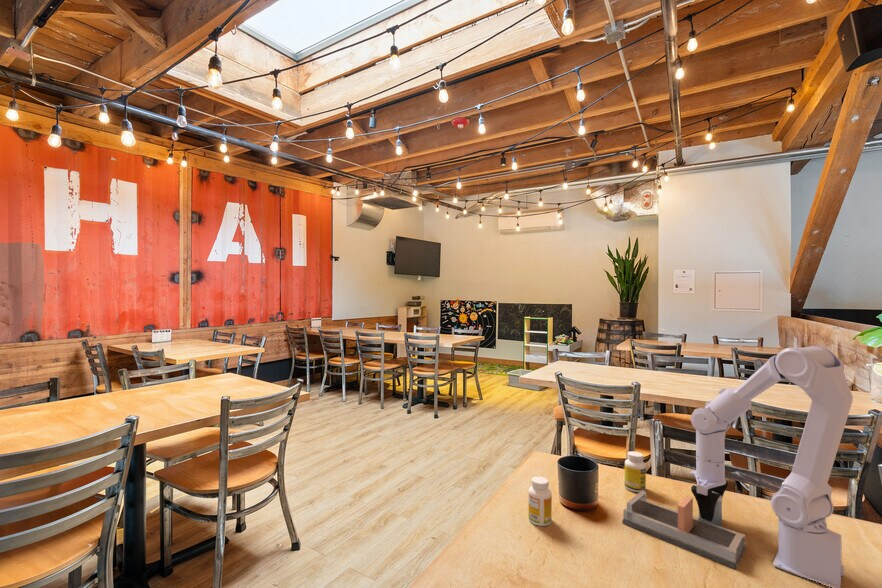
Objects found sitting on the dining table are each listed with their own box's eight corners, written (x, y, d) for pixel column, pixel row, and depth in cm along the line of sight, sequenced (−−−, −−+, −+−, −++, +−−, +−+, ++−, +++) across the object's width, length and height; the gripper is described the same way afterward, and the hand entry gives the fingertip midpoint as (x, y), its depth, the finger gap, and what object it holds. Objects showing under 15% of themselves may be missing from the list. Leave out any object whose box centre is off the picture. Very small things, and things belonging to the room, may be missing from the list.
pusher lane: (745, 548, 86) (745, 524, 86) (735, 569, 79) (735, 543, 79) (638, 508, 102) (638, 488, 102) (622, 523, 95) (622, 502, 95)
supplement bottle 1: (549, 515, 99) (549, 475, 99) (553, 527, 93) (553, 485, 93) (527, 513, 99) (527, 474, 99) (529, 526, 94) (530, 484, 94)
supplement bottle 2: (643, 495, 109) (643, 459, 109) (622, 489, 112) (622, 454, 113) (647, 487, 113) (647, 453, 114) (626, 482, 117) (626, 448, 117)
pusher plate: (692, 527, 92) (692, 497, 92) (683, 538, 87) (683, 507, 87) (686, 525, 93) (686, 495, 93) (677, 536, 88) (677, 505, 88)
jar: (724, 522, 96) (724, 494, 96) (719, 529, 93) (719, 501, 93) (701, 514, 100) (701, 487, 100) (695, 521, 96) (695, 494, 96)
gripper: (699, 446, 104) (699, 498, 104) (681, 461, 94) (681, 519, 94) (732, 453, 99) (732, 509, 99) (717, 470, 89) (717, 532, 89)
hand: (710, 514), depth 96 cm, fingers open, 6 cm apart
